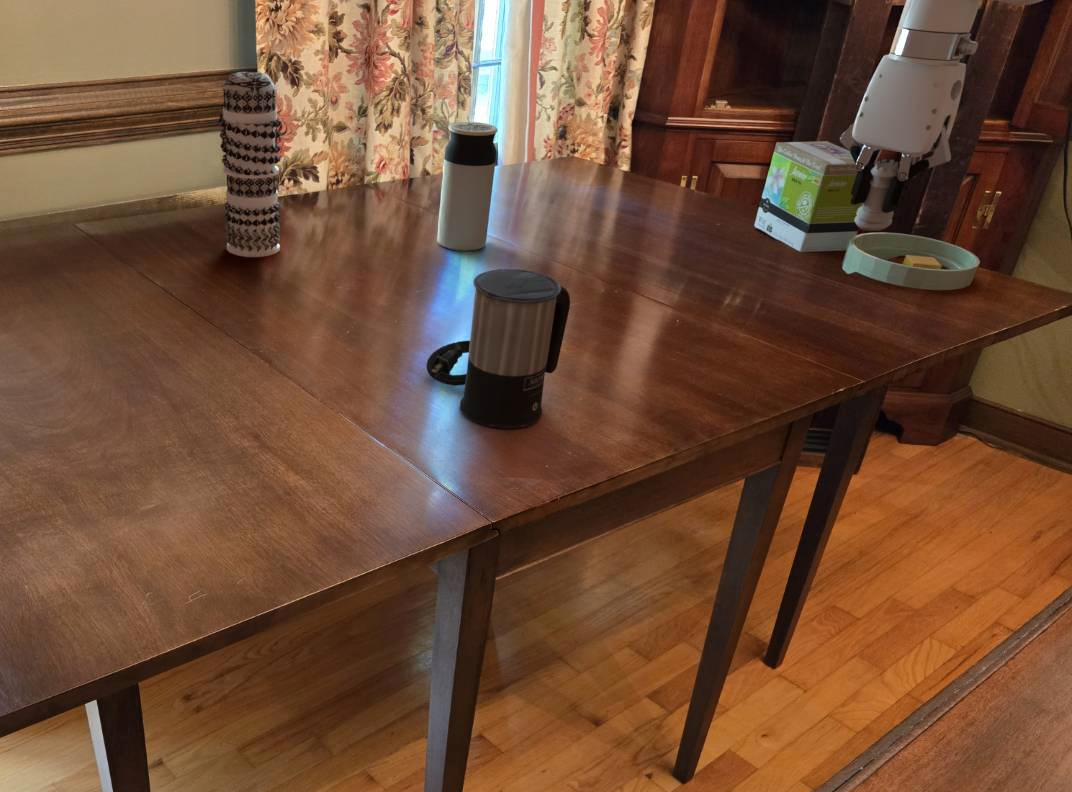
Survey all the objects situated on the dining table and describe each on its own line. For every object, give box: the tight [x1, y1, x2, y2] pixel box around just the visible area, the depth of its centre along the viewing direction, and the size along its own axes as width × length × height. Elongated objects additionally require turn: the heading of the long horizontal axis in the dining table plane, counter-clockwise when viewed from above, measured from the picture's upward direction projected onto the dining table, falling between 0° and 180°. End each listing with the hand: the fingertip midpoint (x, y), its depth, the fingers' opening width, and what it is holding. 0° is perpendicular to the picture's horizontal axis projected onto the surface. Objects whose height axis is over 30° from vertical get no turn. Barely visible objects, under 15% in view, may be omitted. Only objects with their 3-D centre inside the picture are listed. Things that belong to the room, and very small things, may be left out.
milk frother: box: [426, 268, 571, 429], centre depth 107 cm, size 14×16×15 cm
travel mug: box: [436, 121, 498, 252], centre depth 152 cm, size 8×8×18 cm
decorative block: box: [902, 255, 943, 270], centre depth 145 cm, size 4×4×4 cm
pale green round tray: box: [841, 232, 981, 291], centre depth 149 cm, size 18×18×4 cm
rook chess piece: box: [854, 158, 899, 232], centre depth 122 cm, size 4×4×8 cm
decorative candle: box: [217, 71, 283, 258], centre depth 144 cm, size 9×9×25 cm
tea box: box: [754, 140, 876, 253], centre depth 161 cm, size 15×10×15 cm, turn 11°
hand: (874, 205), depth 122 cm, fingers closed on rook chess piece, 3 cm apart
